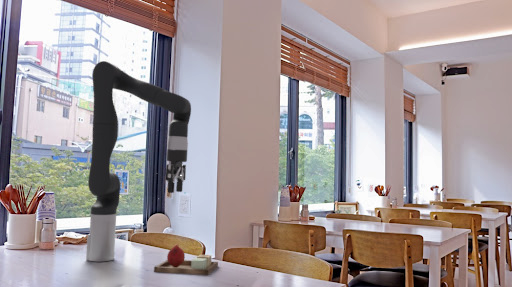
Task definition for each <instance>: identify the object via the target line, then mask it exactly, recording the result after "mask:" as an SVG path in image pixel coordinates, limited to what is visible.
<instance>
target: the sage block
mask: <svg viewBox="0 0 512 287" xmlns="http://www.w3.org/2000/svg"><path fill="white" fill-rule="evenodd" d="M206 267H207V259H206V258H197V257H194V258H192V259H191V268H192V269H206Z"/></svg>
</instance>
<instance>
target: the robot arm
mask: <svg viewBox="0 0 512 287" xmlns="http://www.w3.org/2000/svg"><path fill="white" fill-rule="evenodd" d="M92 85H93V86H92V88H93V115H92V116H93V118H92V132H91V133H92V134H91V136H92V141H91V142H92V143H91V145H92V146H91V160H90V168H89V173H88V174H89V175H88V183H87V184H88V189H89V191H90V192H89V193H91V194H92V195H93V196H96V200H95V202H94V204H92V205H91V207H90V224H89V233H88V234H87V235H86V238H87V239H86V256H85V259H86V260H85V261H89V262H98V263H99V262H110V261H113V260H115V254H116V253H115V251H116V250H115V246H116V227H117V224H116V223H117V210H118V208H119V203H120V194H121V180H120V177H119V176H118V174H116V173H115V172H112V171H111V170H110V166H111V165H110V164H111V162H110V161H111V158H112V154H113V151H114V149H115V146H116V144H117V141H118V135H119V119H118V114H117V110H116V106H115V103H114V100H113V90H118V91H122V92H125V93H128V94H130V95H133V96H135V97H137V98H139V99H141V100H142V101H144V102H146V103H149V104H151V105H154V106H156V107H160V108H162V109H165V110H166V111H168V112H170V113H172V114H173V115H172V121H171V122H170V123H169V127H168V138H167V145H166V146H167V148H166V161H167V162H170V163H167V164H166V165H165V166H166V167H165V168H166V169H165V178H164V180H165V181H167V183H168V184H167V193H168V194H169V193H170V194H172V193H175V191H176V192H178V193H179V192H180V193H181V192H183V183H184V181H186V168H187V165H186V164H183V163H187V161H188V150H189V149H188V148H189V147H188V146H189V143H188V134H189V132H188V131H189V122H190V119H191V115H192V114H191V113H192V105H191V102H190V100H188V99H187V98H185V97H184V96H182V95H180V94H177V93H175V92H170V91H168V90H166V89H164V88H162V87H159V86H157V85H155V84H152V83H149V82H146V81H143V80H140V79H137V78H135V77H133V76H131V75H129V74H128V73H126V72H125V71H123V70H122V69H121V68H119V67H118V66H117V65H115V64H113V63H111V62H109V61H104V60H102V61H99V62H98V63H96V64H95V65H94V67H93V69H92ZM175 181H176V182H175ZM175 183H176V185H175ZM175 186H176V187H175ZM175 188H176V189H175Z"/></svg>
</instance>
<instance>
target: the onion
mask: <svg viewBox="0 0 512 287" xmlns="http://www.w3.org/2000/svg"><path fill="white" fill-rule="evenodd" d="M166 260H168V262H169V264H170V265H171V266H173V267H175V268H177V267H178V266H179V265H181V264H182V263H183V261H184V260H186V259H185V252H184V250H183V249H182V248H181V247H180V246H179V244H178V243H176V244H175V245H174V246H173V247H172V248H171V249H169V251H168V253H167V258H166Z"/></svg>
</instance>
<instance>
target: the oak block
mask: <svg viewBox="0 0 512 287" xmlns="http://www.w3.org/2000/svg"><path fill="white" fill-rule="evenodd" d="M196 258H206V259H207V267H206V269H207V268H208V267H209V266H211V262H212V255H210V254H199V255H198V256H196Z"/></svg>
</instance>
